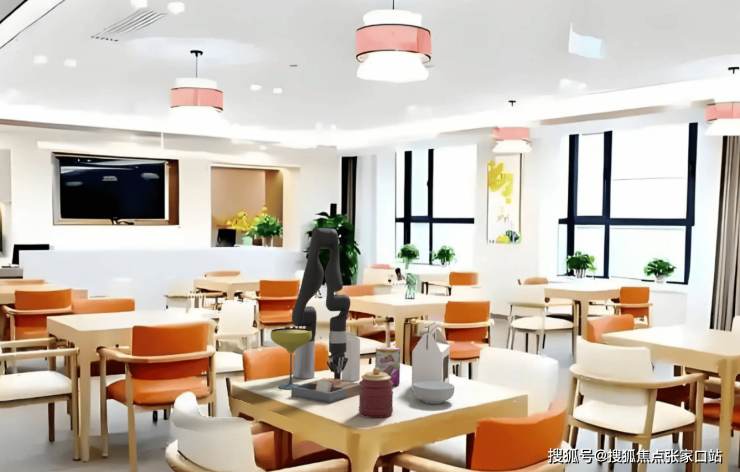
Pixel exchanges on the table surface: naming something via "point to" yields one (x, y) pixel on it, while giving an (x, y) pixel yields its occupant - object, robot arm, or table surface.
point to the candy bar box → (389, 362)
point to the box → (317, 394)
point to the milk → (352, 358)
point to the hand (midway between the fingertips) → (337, 381)
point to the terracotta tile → (333, 381)
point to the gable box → (431, 357)
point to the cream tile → (324, 386)
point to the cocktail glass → (290, 344)
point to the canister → (376, 395)
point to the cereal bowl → (433, 391)
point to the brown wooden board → (341, 387)
